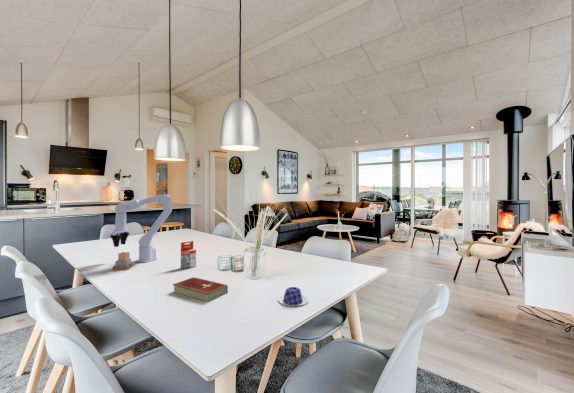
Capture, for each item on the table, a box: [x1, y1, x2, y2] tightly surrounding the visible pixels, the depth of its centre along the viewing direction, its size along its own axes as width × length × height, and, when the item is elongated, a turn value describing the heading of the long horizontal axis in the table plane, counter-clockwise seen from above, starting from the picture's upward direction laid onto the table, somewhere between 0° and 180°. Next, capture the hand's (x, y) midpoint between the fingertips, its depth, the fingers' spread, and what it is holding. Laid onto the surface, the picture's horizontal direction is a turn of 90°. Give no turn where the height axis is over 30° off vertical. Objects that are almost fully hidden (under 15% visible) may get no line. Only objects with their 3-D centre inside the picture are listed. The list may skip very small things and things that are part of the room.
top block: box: [114, 258, 132, 266], centre depth 160 cm, size 6×6×2 cm
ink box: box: [180, 240, 197, 270], centre depth 163 cm, size 4×8×15 cm, turn 134°
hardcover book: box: [172, 276, 229, 302], centre depth 124 cm, size 12×21×4 cm, turn 61°
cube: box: [117, 251, 130, 261], centre depth 160 cm, size 4×4×4 cm
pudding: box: [278, 286, 308, 307], centre depth 116 cm, size 12×12×5 cm
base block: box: [112, 262, 136, 271], centre depth 161 cm, size 8×8×2 cm
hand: (119, 245), depth 171 cm, fingers open, 7 cm apart
